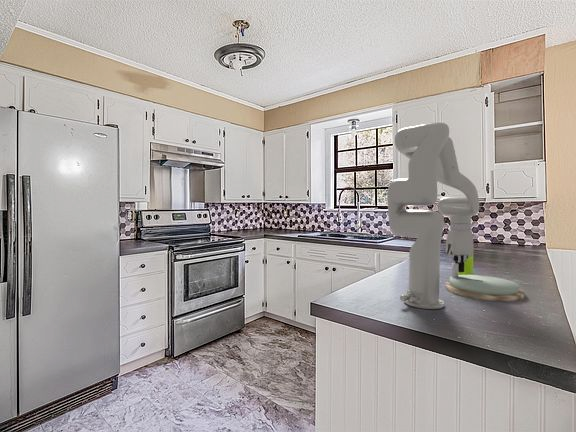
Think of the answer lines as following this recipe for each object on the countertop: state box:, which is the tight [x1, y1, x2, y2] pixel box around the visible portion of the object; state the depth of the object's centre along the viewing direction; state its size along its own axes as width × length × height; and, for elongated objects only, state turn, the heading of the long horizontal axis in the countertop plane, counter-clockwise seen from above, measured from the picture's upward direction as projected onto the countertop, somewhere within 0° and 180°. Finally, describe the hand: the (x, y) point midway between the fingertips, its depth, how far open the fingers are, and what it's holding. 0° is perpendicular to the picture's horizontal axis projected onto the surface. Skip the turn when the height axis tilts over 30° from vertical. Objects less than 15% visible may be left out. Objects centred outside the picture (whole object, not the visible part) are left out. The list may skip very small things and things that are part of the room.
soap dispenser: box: [458, 248, 475, 275], centre depth 150 cm, size 6×7×20 cm
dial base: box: [444, 280, 526, 303], centre depth 125 cm, size 26×26×2 cm
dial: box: [449, 262, 521, 295], centre depth 125 cm, size 23×23×8 cm
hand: (459, 271), depth 134 cm, fingers closed
